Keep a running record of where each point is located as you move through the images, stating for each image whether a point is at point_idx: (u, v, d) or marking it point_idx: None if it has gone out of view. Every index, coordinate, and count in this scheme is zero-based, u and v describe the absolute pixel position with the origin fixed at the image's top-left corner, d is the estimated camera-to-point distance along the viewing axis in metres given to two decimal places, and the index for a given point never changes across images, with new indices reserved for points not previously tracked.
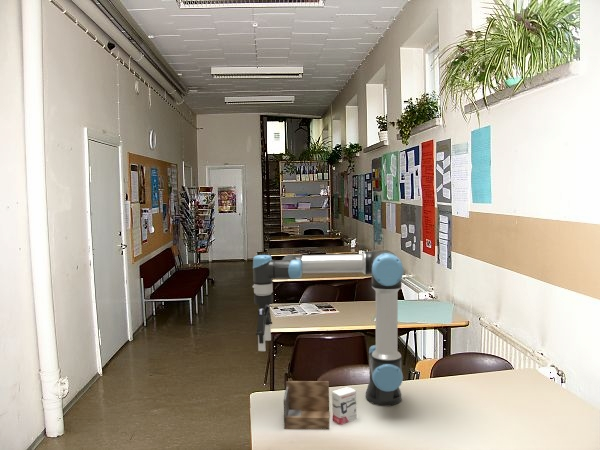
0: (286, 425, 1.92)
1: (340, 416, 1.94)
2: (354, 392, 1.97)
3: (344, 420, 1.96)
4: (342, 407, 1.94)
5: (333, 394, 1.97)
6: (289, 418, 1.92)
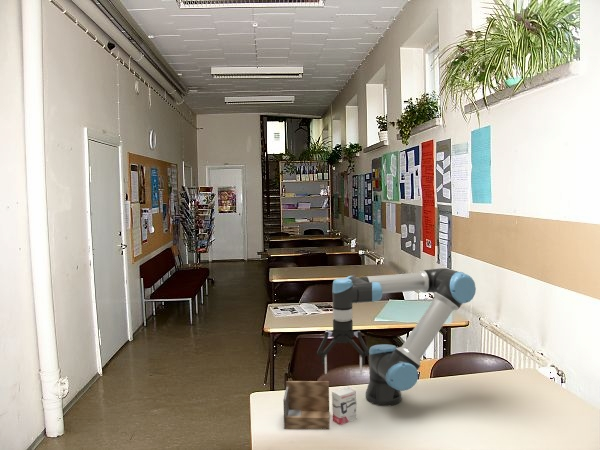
0: (286, 425, 1.92)
1: (340, 416, 1.94)
2: (354, 392, 1.97)
3: (344, 420, 1.96)
4: (342, 407, 1.94)
5: (333, 394, 1.97)
6: (289, 418, 1.92)
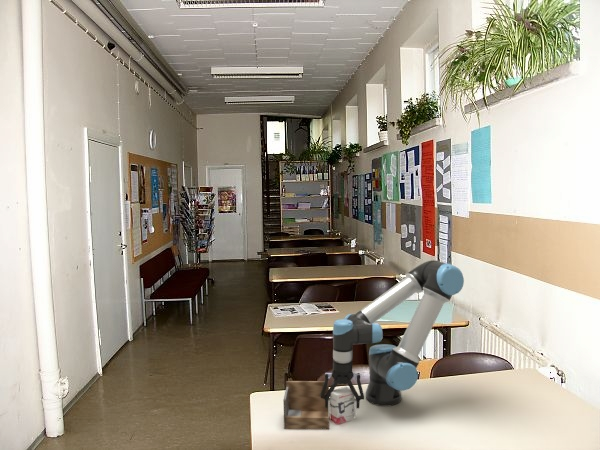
0: (286, 425, 1.92)
1: (337, 416, 1.94)
2: None
3: (342, 420, 1.96)
4: (339, 407, 1.95)
5: (331, 394, 1.97)
6: (289, 418, 1.92)
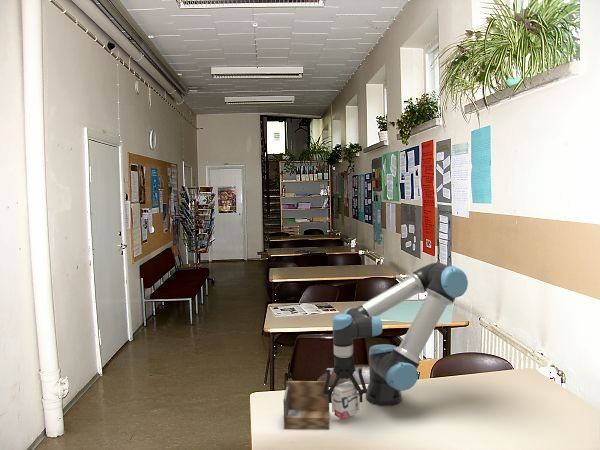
0: (286, 425, 1.92)
1: (341, 411, 1.94)
2: None
3: (346, 414, 1.96)
4: (343, 402, 1.95)
5: (334, 389, 1.97)
6: (289, 418, 1.92)
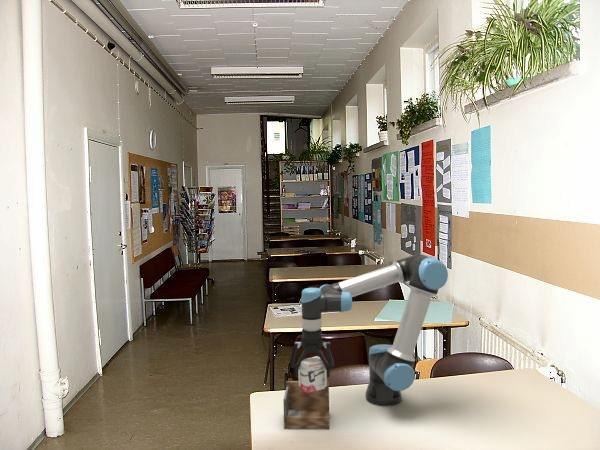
0: (286, 425, 1.92)
1: (307, 385, 1.93)
2: None
3: (312, 389, 1.94)
4: (309, 376, 1.93)
5: (301, 363, 1.95)
6: (289, 418, 1.92)
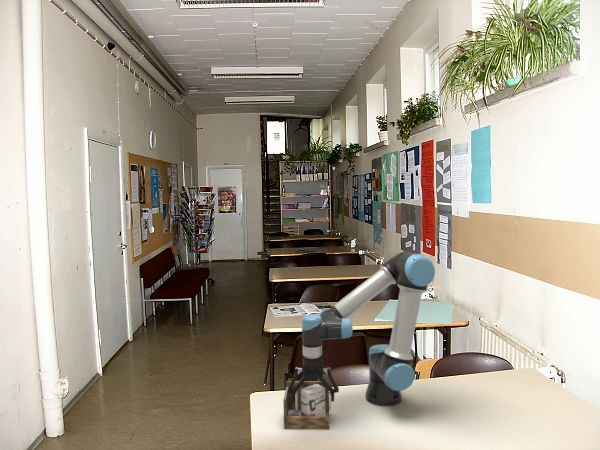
0: (286, 425, 1.92)
1: (308, 414, 1.94)
2: (323, 389, 1.97)
3: None
4: (310, 404, 1.94)
5: (302, 391, 1.96)
6: (289, 418, 1.92)
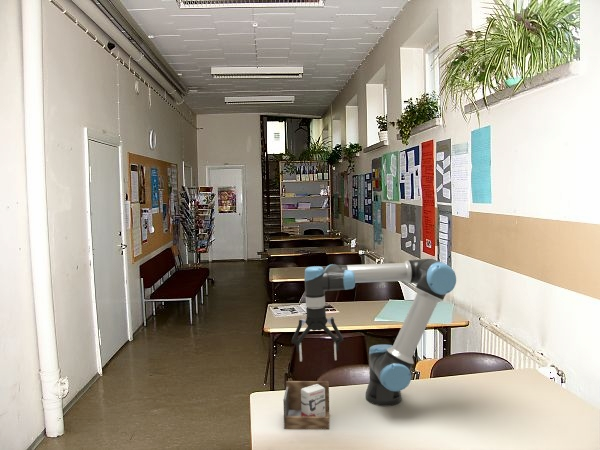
0: (286, 425, 1.92)
1: (308, 414, 1.94)
2: (323, 389, 1.97)
3: None
4: (310, 404, 1.94)
5: (302, 391, 1.96)
6: (289, 418, 1.92)
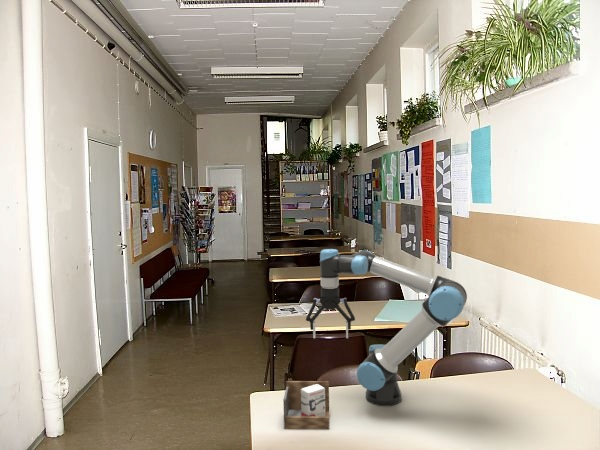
0: (286, 425, 1.92)
1: (308, 414, 1.94)
2: (323, 389, 1.97)
3: None
4: (310, 404, 1.94)
5: (302, 391, 1.96)
6: (289, 418, 1.92)
